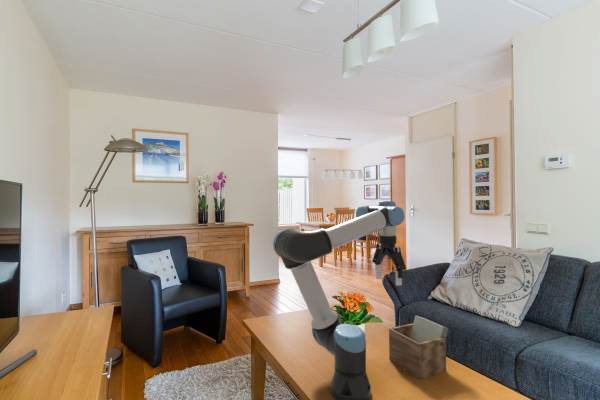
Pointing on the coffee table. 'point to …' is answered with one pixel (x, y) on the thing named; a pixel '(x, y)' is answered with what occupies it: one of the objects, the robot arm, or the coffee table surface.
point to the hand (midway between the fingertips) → (388, 281)
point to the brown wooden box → (416, 353)
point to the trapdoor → (426, 330)
